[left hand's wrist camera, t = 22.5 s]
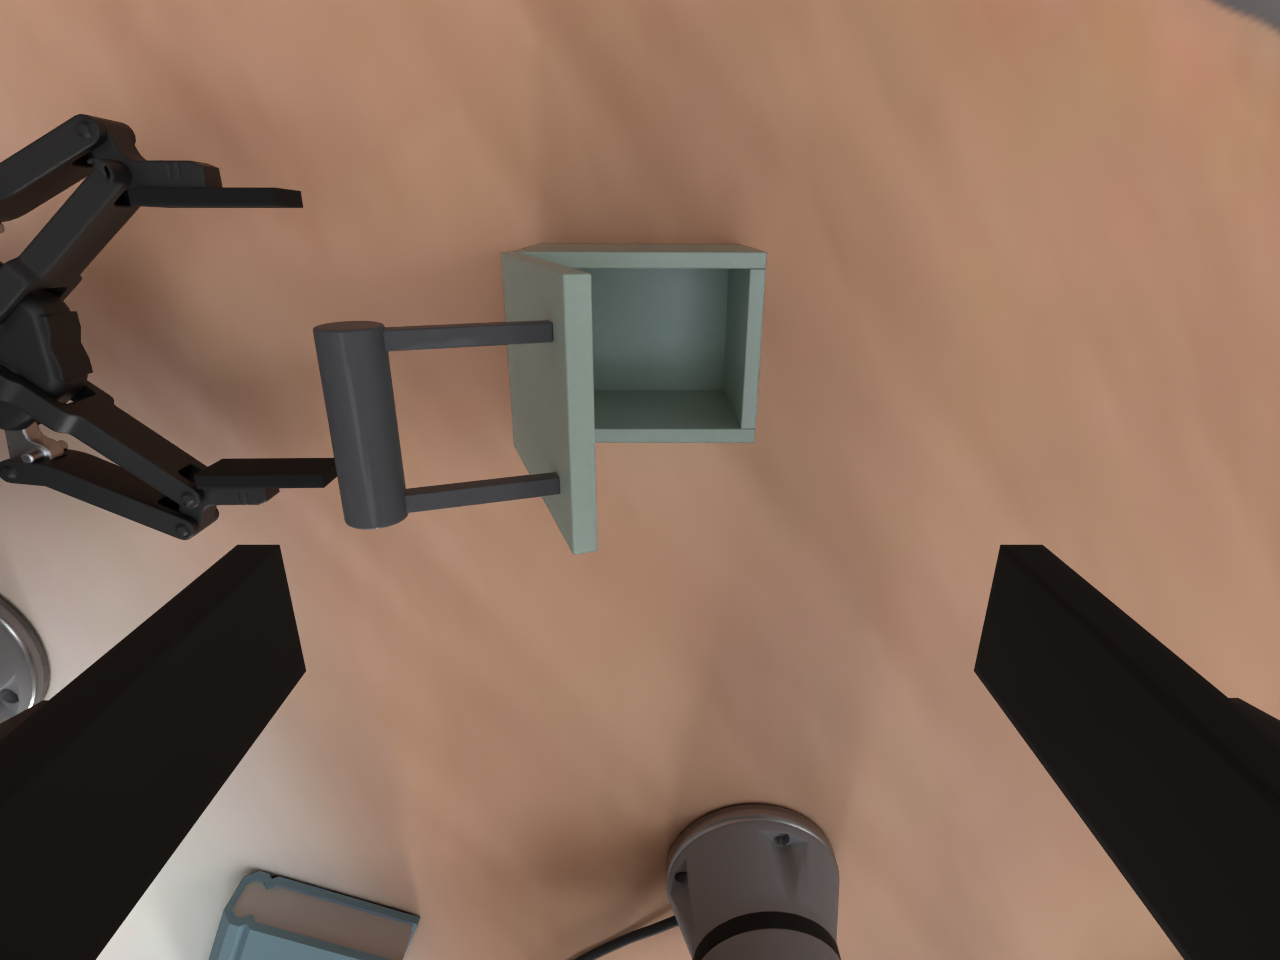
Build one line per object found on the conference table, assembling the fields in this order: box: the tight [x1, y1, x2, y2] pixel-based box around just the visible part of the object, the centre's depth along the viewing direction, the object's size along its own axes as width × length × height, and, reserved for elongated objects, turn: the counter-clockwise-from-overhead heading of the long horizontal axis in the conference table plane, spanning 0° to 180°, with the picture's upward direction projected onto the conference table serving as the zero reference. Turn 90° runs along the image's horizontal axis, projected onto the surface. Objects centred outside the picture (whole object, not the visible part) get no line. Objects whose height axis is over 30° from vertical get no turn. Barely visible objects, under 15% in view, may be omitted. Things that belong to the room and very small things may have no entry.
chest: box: [514, 244, 767, 443], centre depth 41 cm, size 13×10×10 cm
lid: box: [313, 252, 597, 555], centre depth 29 cm, size 14×10×9 cm
